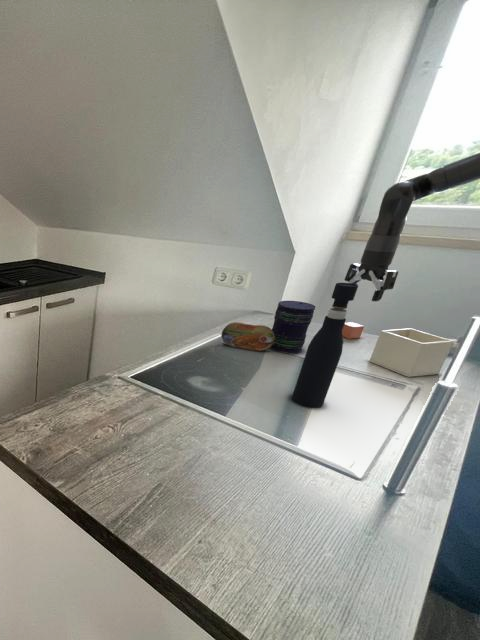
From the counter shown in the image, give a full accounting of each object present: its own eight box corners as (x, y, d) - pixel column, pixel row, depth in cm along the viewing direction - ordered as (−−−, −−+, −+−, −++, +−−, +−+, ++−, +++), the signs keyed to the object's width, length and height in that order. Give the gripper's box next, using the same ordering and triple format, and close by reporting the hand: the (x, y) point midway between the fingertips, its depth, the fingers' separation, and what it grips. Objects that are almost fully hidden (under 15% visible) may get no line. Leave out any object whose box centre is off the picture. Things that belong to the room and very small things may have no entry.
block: (348, 333, 140) (352, 322, 138) (359, 337, 136) (364, 326, 134) (337, 334, 140) (341, 322, 138) (348, 338, 136) (353, 326, 134)
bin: (408, 376, 109) (423, 343, 105) (369, 361, 119) (381, 330, 114) (451, 372, 110) (468, 340, 106) (409, 357, 120) (423, 327, 116)
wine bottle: (285, 398, 100) (322, 283, 88) (301, 393, 102) (339, 280, 90) (312, 410, 95) (355, 289, 82) (328, 404, 97) (372, 285, 85)
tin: (219, 344, 134) (224, 321, 131) (220, 341, 136) (225, 318, 133) (270, 353, 126) (277, 329, 123) (271, 350, 128) (278, 326, 125)
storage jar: (291, 356, 124) (305, 311, 118) (260, 346, 132) (271, 303, 126) (308, 349, 128) (322, 305, 122) (276, 340, 136) (288, 299, 130)
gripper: (414, 251, 120) (393, 302, 126) (368, 245, 132) (351, 292, 139) (393, 253, 119) (373, 304, 125) (349, 246, 132) (333, 293, 138)
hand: (362, 297), depth 132 cm, fingers open, 8 cm apart
